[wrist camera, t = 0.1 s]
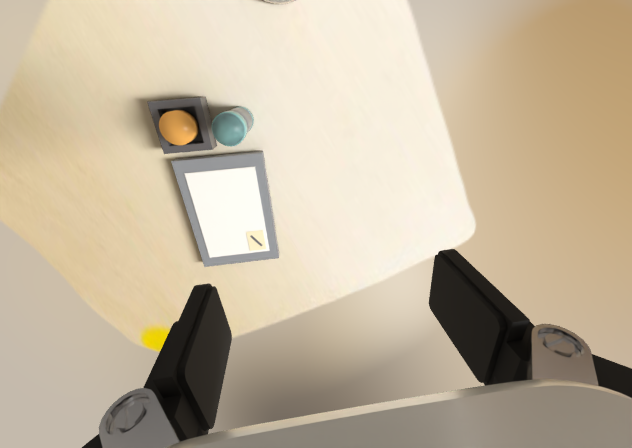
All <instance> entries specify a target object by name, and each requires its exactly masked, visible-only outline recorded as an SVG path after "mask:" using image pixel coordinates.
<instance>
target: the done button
mask: <svg viewBox="0 0 632 448" xmlns="http://www.w3.org/2000/svg"><path fill="white" fill-rule="evenodd" d="M159 129H160V132H161V134H162V136H163V137H164V138H165V139H166V140H167V141H168V142H170V143H172V144H174V145H185V144H187V143H189V142H191V141H192V140H194V139H195V138H196V137H197V135H198V131H199V127H198V123H197V121H196V119H195V118H194V117H193V116H192V115H191V114H190V113H188V112H187V111H184V110H174V111H169V112H166V113H165V114H163V115H162V117H161V118H160V121H159Z"/></svg>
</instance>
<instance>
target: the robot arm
mask: <svg viewBox="0 0 632 448" xmlns="http://www.w3.org/2000/svg"><path fill="white" fill-rule="evenodd" d="M264 1H266V2H270V3H274V4H286V3H290V2H294V1H296V0H264ZM429 306H430V309H431V311H432V312H433V314H434V315H435V317H436V318H437V320H438V321H439V323H440V324H441V326H442V327H443V329H444V330H445V332H446V333H447V335H448V336H449V338H450V339H451V341H452V342H453V344H454V345H455V347H456V348H457V350H458V351H459V353H460V354H461V356H462V357H463V359H464V360H465V362H466V363H467V365H468V366H469V368H470V369H471V371H472V372H473V374H474V375H475V377H476V378H477V380H478V381H479V382H481V383H484V384H485V386H480V387H473V388H467V389H461V390H455V391H449V392H442V393H437V394H431V395H424V396H418V397H413V398H406V399H400V400H395V401H389V402H383V403H377V404H371V405H365V406H359V407H354V408H347V409H342V410H336V411H330V412H324V413H319V414H313V415H308V416H302V417H296V418H291V419H285V420H279V421H273V422H268V423H262V424H257V425H251V426H246V427H241V428H236V429H231V430H226V431H221V432H216V433H211V434H208V430H209V429H212V428H213V426H214V423H215V418H216V413H217V409H218V403H219V399H220V394H221V389H222V384H223V379H224V374H225V369H226V365H227V360H228V355H229V350H230V345H231V340H232V335H231V330H230V327H229V324H228V321H227V318H226V315H225V312H224V309H223V306H222V304H221V301H220V298H219V295H218V292H217V289H216V287H215V286H214V287H212V286H211V284H203V285H196V286H194V288H193V290H192V292H191V294H190V297H189V299H188V301H187V303H186V305H185V308H184V310H183V312H182V314H181V317H180V319H179V321H176V322H175V323H174V324H173V326H172V327H171V330H170V332H169V334H168V336H167V338H166V340H165V343H164V345H163V347H162V349H161V351H160V353H159V356H158V358H157V360H156V362H155V364H154V366H153V368H152V370H151V373H150V375H149V377H148V379H147V381H146V384H145V386H144V388H140V389H136V390H133V391H130V392H128V393H127V394H125V395H123V396H122V397H121V398H119V399H118V400H117V401H116V402H114V403H113V404H112V406H111V407H110V408H109V409H108V410H107V411H106V413H105V415H104V416H103V418H102V420H101V423H100V426H99V434H98V435H97V436H96V437H94V438H93V439H92V440H91V441H89V442H88V443H87V444H86V445H84V446H83V447H82V448H632V369H631V368H628V367H626V366H623V365H620V364H617V363H615V362H612V361H609V360H606V359H604V358H601V357H598V356H595V355H593V354H591V350H590V348H589V346H588V345H587V344H586V343H585V342H584V340H583V339H581V338H580V337H579V336H577V335H576V334H575V333H573V332H571V331H569V330H567V329H565V328H562V327H560V326H556V325H551V324H540V325H536V326H534V325H533V324H532V323H531V322H530V320H529V319H528V318H527V317H526V316H525V315H524V314H523V313H522V312H521V311H520V310H519V309H518V308H517V307H516V306H515V305H513V304H512V303H511V302H510V301H509V300H508V299H507V298H506V297H505V296H504V295H503V294H502V293H501V292H500V291H499V290H498V289H496V288H495V287H494V286H493V285H492V284H491V283H490V282H489V281H488V280H487V279H486V278H485V277H484V276H483V275H482V274H481V273H480V272H478V271H477V270H476V269H475V268H474V267H473V266H472V265H471V264H470V263H469V262H468V261H467V260H466V259H465V258H464V257H463V256H461V255H460V254H459V253H458V252H457V251H456V250H455V249H450V250H443V251H439V253H438V255H436V256H435V259H434V267H433V274H432V282H431V290H430V297H429Z"/></svg>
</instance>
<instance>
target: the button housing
mask: <svg viewBox="0 0 632 448" xmlns="http://www.w3.org/2000/svg"><path fill="white" fill-rule="evenodd" d="M147 103H148V106H149V109H150V112H151V115H152V118H153V121H154V124H155V127H156V130H157V133H158V137H159V140H160V143H161V146H162V149H163V152H164V154H168V153H179V152H190V151H201V150H212V149H214V148H215V147H216V146H217V144H216V139H215V137H214V135H213V133H212V122H211V118H210V113H209V109H208V105H207V101H206V97H198V98H185V99H172V100H159V101H150V102H147ZM174 110H184V111H187V112H188V113H190V114H191V115H192V116H193V117H194V118H195V119H196V121H197V123H198V127H199V131H198V135H197V137H196V138H195V139H194V140H192V141H191V142H189V143H187V144H185V145H174V144H172V143H170V142H168V141H167V140H166V139H165V138H164V137H163V136H162V134H161V132H160V129H159V121H160V118H161V117H162V115H163V114H165V113H166V112H169V111H174Z"/></svg>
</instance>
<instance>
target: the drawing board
mask: <svg viewBox="0 0 632 448" xmlns="http://www.w3.org/2000/svg"><path fill="white" fill-rule="evenodd" d="M171 163H172V166H173V169H174V172H175V175H176V178H177V182H178V185H179V188H180V191H181V194H182V197H183V201H184V204H185V207H186V210H187V213H188V216H189V219H190V223H191V226H192V229H193V232H194V235H195V238H196V241H197V245H198V248H199V251H200V254H201V257H202V260H203V264H204V267H207V266H216V265H224V264H233V263H241V262H250V261H258V260H267V259H275V258H279V250H278V244H277V238H276V231H275V225H274V219H273V212H272V206H271V200H270V193H269V187H268V180H267V174H266V168H265V161H264V155H263V151H258V152H247V153H236V154H225V155H215V156H204V157H193V158H182V159H174V160H173V161H171Z"/></svg>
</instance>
